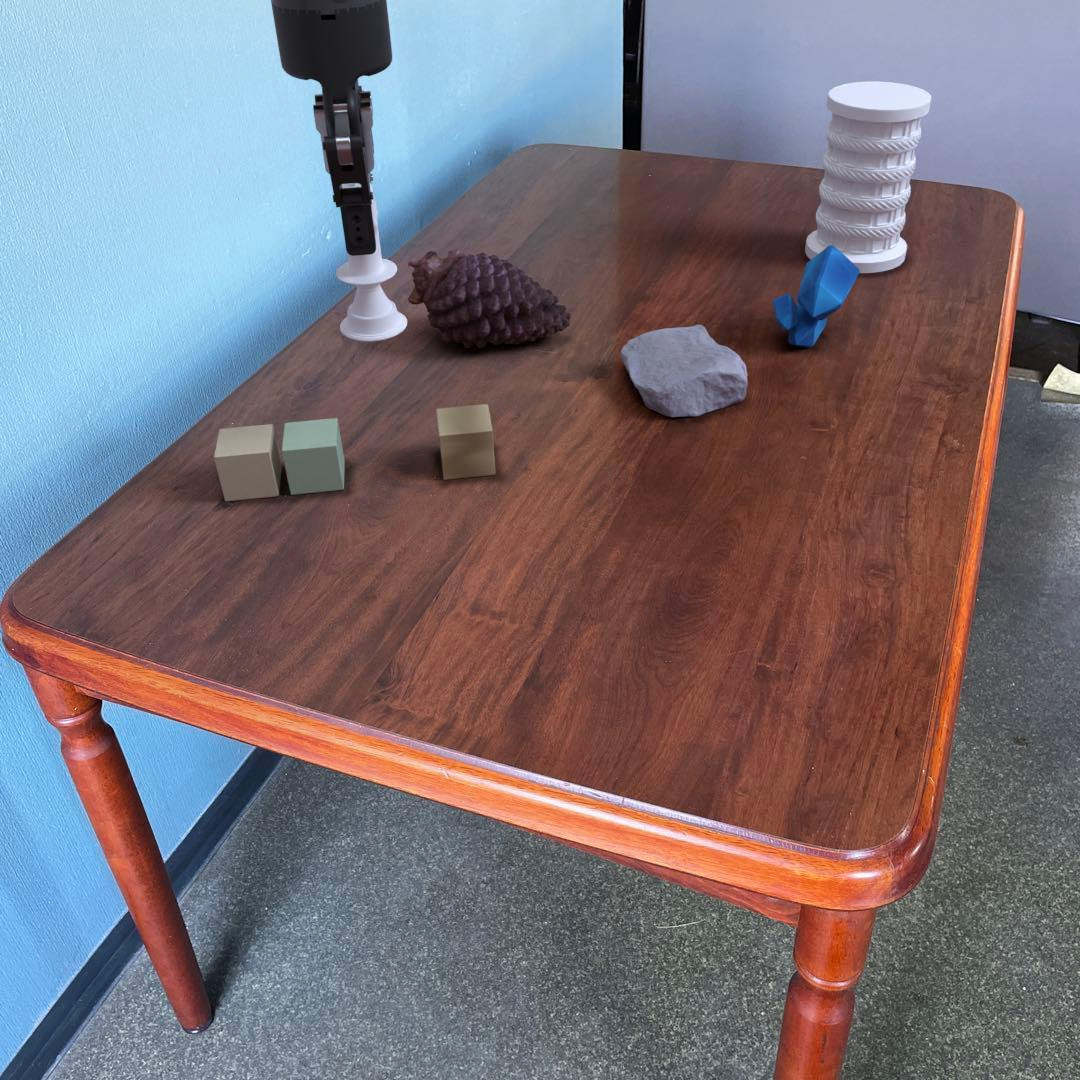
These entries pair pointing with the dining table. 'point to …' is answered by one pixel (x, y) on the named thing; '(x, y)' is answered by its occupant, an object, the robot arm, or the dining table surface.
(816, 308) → the crystal
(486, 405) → the block
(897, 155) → the decorative container
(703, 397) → the stone block
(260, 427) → the block
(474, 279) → the pine cone
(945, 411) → the dining table surface
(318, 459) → the block
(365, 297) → the candle
